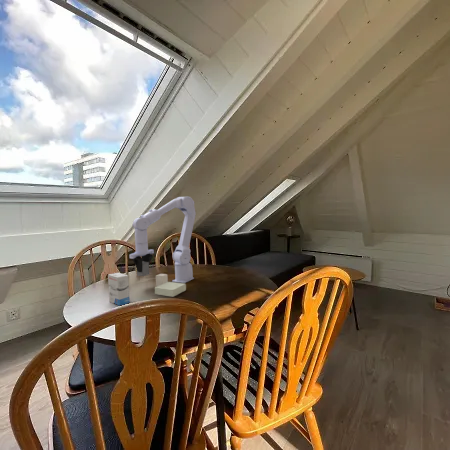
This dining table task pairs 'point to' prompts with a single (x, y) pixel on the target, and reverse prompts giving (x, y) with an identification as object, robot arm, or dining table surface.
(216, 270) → the dining table surface
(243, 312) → the dining table surface
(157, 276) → the off-white pillar
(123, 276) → the ink box
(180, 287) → the sage board
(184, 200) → the robot arm
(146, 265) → the grey rectangular prism
